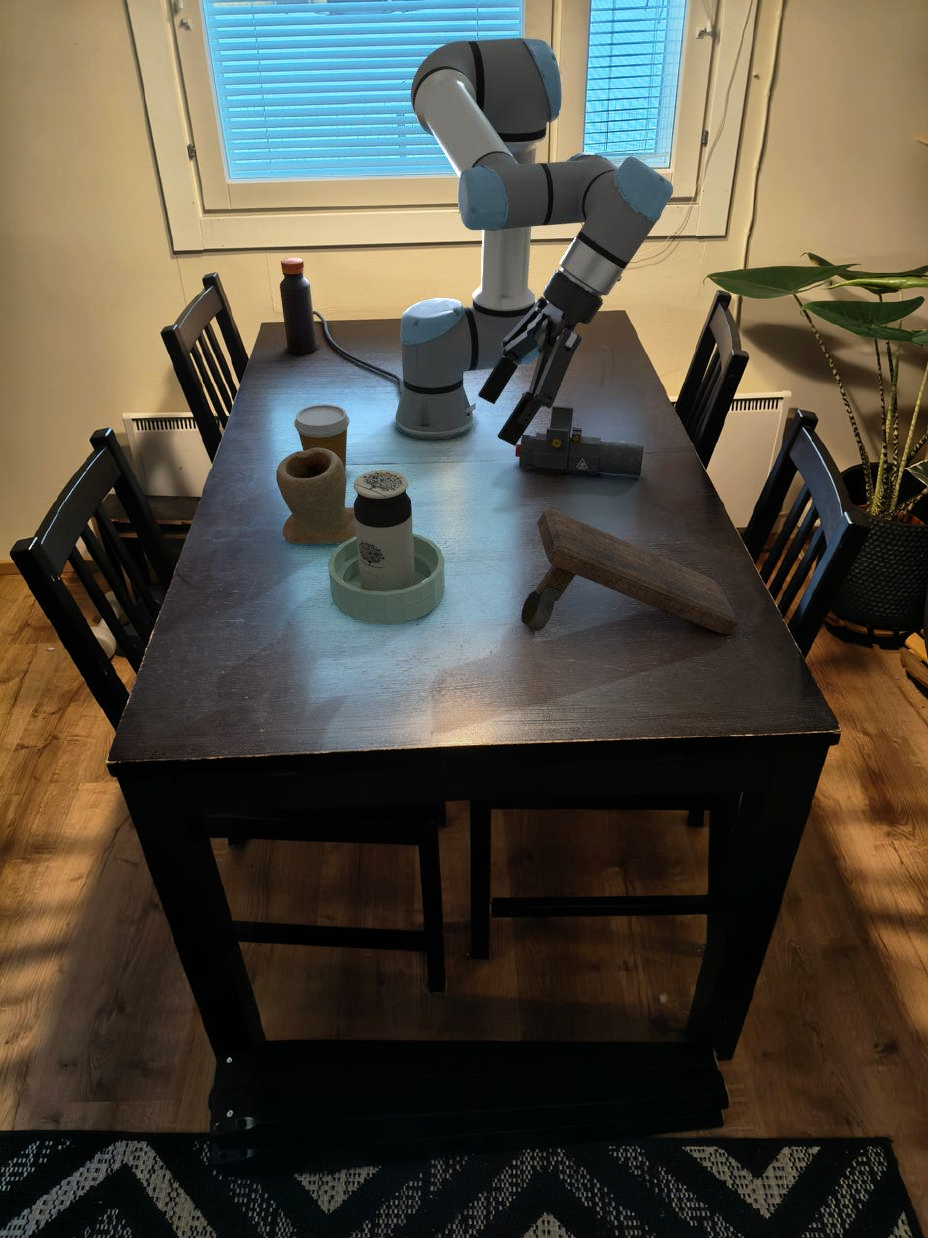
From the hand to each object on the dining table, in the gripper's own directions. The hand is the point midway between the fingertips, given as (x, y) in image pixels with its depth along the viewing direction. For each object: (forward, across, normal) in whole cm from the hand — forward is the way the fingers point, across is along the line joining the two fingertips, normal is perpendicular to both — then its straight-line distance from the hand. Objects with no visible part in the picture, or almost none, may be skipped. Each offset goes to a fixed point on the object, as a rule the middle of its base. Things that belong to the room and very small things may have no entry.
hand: (495, 419), depth 128 cm
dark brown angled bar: (+12, -18, -26) cm, 34 cm away
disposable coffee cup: (+33, +32, +8) cm, 47 cm away
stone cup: (+33, +12, +8) cm, 36 cm away
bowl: (+29, -6, +2) cm, 30 cm away
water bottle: (+34, +96, +9) cm, 102 cm away
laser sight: (+9, +26, -30) cm, 41 cm away
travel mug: (+29, -6, +2) cm, 29 cm away
